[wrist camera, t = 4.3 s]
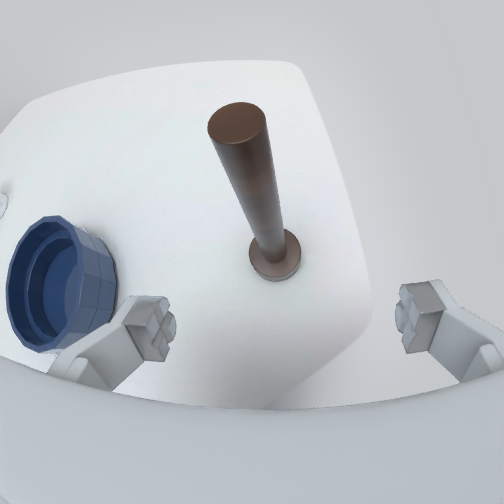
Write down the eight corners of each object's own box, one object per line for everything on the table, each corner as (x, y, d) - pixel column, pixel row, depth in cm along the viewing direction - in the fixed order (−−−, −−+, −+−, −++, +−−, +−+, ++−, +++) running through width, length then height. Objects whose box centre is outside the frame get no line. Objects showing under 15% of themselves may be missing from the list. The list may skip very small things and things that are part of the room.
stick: (310, 258, 25) (329, 120, 8) (274, 291, 25) (224, 203, 8) (277, 225, 27) (243, 67, 10) (242, 256, 26) (153, 131, 9)
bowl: (141, 301, 27) (105, 292, 21) (66, 374, 26) (30, 376, 20) (88, 211, 31) (58, 190, 25) (28, 283, 30) (-3, 274, 24)
